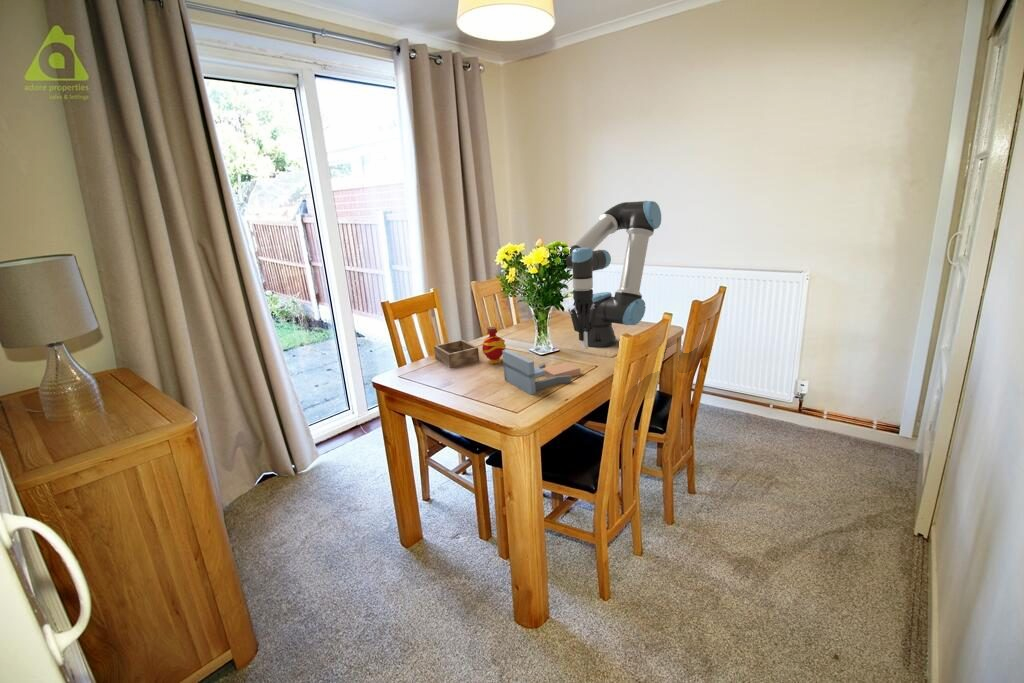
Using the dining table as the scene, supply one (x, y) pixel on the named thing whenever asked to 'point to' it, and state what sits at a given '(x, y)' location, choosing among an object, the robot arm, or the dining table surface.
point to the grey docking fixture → (527, 373)
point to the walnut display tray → (456, 353)
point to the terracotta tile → (561, 370)
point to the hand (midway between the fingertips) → (584, 347)
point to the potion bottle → (493, 346)
